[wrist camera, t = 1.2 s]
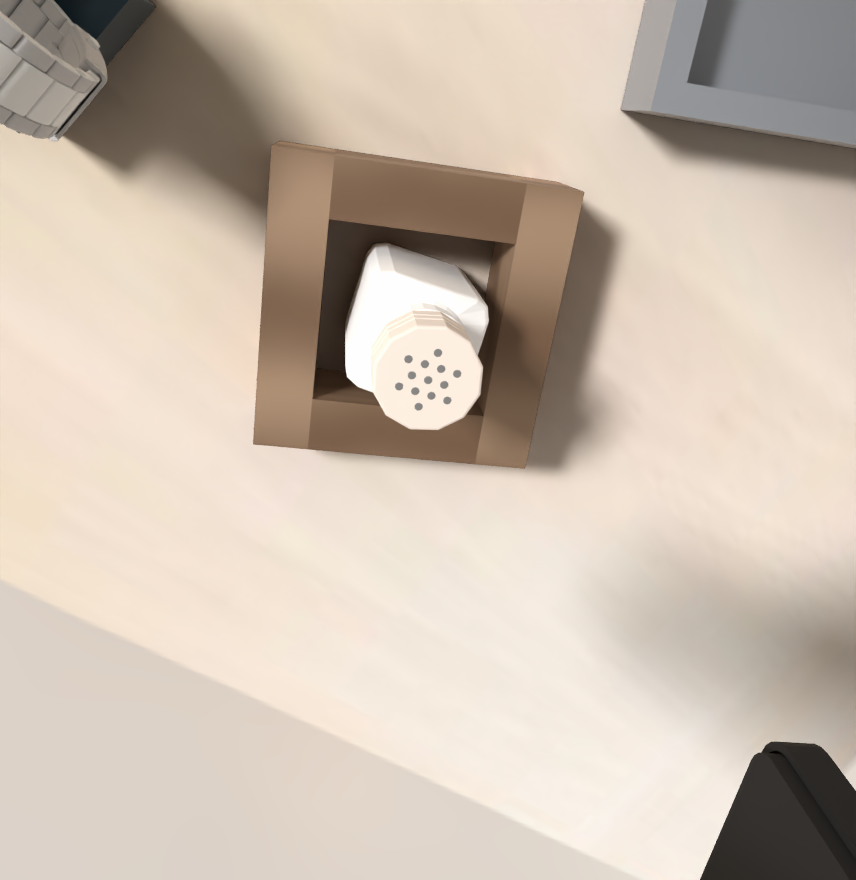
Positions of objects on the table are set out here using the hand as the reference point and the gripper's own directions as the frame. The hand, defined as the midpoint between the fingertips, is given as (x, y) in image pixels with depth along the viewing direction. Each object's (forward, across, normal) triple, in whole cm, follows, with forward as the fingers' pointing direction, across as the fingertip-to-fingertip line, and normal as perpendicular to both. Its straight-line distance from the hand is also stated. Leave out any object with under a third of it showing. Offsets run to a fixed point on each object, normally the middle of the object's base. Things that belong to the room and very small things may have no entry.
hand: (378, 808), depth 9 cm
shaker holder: (+23, -2, -1) cm, 23 cm away
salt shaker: (+23, -2, -1) cm, 23 cm away
